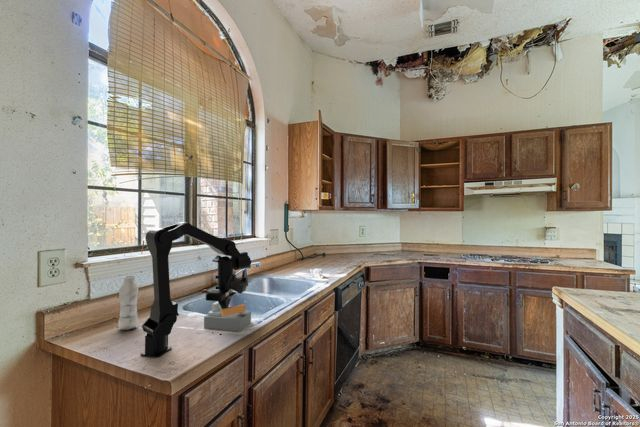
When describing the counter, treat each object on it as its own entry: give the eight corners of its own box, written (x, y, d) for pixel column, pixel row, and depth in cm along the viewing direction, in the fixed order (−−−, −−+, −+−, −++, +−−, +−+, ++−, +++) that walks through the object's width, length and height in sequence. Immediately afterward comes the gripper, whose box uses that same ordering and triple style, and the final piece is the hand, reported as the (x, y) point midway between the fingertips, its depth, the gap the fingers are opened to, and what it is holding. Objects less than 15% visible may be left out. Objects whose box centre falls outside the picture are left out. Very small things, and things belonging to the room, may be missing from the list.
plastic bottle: (122, 333, 108) (123, 279, 108) (115, 329, 112) (116, 276, 112) (141, 328, 113) (142, 276, 113) (134, 324, 117) (134, 274, 117)
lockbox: (240, 331, 111) (240, 319, 111) (203, 328, 114) (204, 316, 114) (251, 322, 121) (251, 311, 121) (217, 319, 124) (217, 308, 124)
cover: (219, 316, 115) (219, 305, 115) (207, 315, 116) (208, 304, 116) (228, 310, 122) (228, 300, 122) (217, 309, 122) (217, 299, 122)
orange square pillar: (245, 314, 117) (245, 305, 117) (223, 320, 110) (223, 310, 110) (243, 313, 118) (243, 304, 118) (221, 318, 111) (221, 309, 111)
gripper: (233, 279, 103) (233, 323, 104) (254, 268, 122) (254, 305, 122) (204, 277, 105) (204, 320, 106) (229, 267, 124) (229, 303, 124)
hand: (225, 312), depth 114 cm, fingers closed
